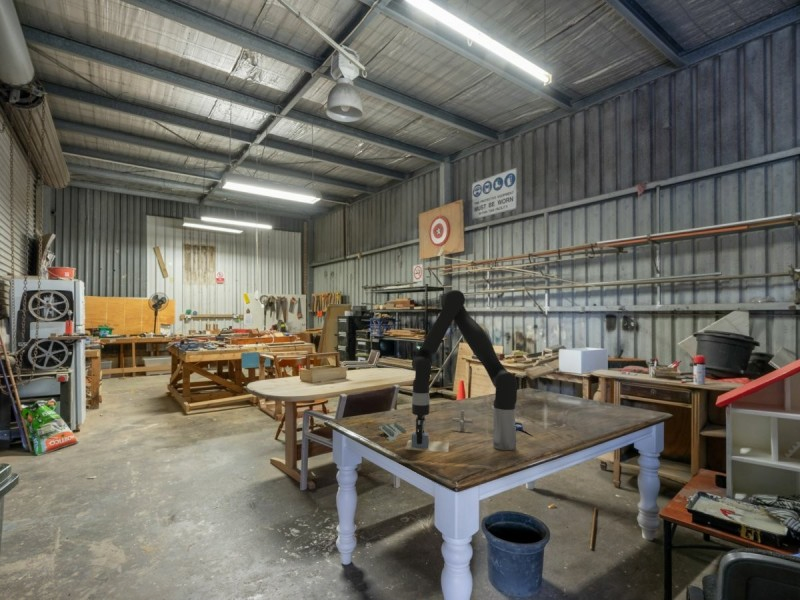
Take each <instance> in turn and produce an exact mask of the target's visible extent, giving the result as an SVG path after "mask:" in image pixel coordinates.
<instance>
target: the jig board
mask: <svg viewBox="0 0 800 600" xmlns="http://www.w3.org/2000/svg"><path fill="white" fill-rule="evenodd" d="M406 443H407V444H406V446H405V447H404V450H408V451H421V452H422V451H424V452H426V451H427V452H437V453H439V452H440V453H449V447H450V446H449V445H450V442H448V441H434V440H429V446H428V448H422V447H412V439H408V440H407V442H406Z"/></svg>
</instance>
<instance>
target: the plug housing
mask: <svg viewBox="0 0 800 600" xmlns="http://www.w3.org/2000/svg"><path fill="white" fill-rule="evenodd" d="M411 440H412V447H422V448H428V446H429V441H430V433H429V432H424V433H423V434H422V444H417V435H416V431H412V433H411Z"/></svg>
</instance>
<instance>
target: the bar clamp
mask: <svg viewBox="0 0 800 600" xmlns="http://www.w3.org/2000/svg"><path fill="white" fill-rule="evenodd" d="M515 427H516V430H521V432H523V433H525V432H527V431H526V430H524V429H523V423H521V422H516V421H515ZM522 429H523V430H522Z"/></svg>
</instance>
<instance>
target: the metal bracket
mask: <svg viewBox="0 0 800 600" xmlns="http://www.w3.org/2000/svg"><path fill="white" fill-rule="evenodd" d="M378 428H379V429H380V430H381V431H382V432H383V433H384V434H385V435H386V439H387V440H388V441H389V440H394V441H396V439H397V437H398V435H399V434H401V433H404V434H406V433H407V429H406V428H405V427H404V426H402V425H400V424H399V423H398V422H397V421H395V422H394V423H392V424H389V423H388V422H386V424H385V423H384V424H382V425H380V426H378ZM387 436H388V437H387Z"/></svg>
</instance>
